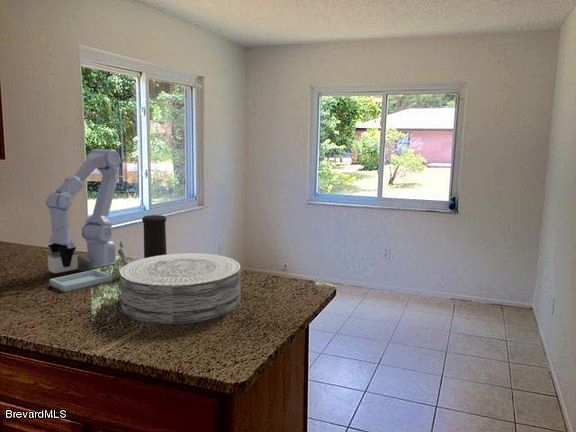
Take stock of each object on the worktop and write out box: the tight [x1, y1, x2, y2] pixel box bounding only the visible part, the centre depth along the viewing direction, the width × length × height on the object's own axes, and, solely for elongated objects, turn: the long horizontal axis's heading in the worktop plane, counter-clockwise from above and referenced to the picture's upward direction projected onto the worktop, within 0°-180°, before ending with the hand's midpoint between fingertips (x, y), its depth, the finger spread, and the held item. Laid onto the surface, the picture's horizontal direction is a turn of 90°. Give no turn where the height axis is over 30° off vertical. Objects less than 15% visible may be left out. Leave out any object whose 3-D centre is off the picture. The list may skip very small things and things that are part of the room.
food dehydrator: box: [117, 241, 241, 325], centre depth 139 cm, size 38×34×18 cm
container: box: [141, 214, 168, 259], centre depth 173 cm, size 9×9×20 cm
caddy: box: [47, 250, 78, 274], centre depth 164 cm, size 8×5×6 cm, turn 139°
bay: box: [44, 254, 93, 275], centre depth 166 cm, size 11×13×5 cm
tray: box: [48, 269, 113, 293], centre depth 156 cm, size 16×11×2 cm
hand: (63, 265), depth 164 cm, fingers closed on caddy, 5 cm apart
